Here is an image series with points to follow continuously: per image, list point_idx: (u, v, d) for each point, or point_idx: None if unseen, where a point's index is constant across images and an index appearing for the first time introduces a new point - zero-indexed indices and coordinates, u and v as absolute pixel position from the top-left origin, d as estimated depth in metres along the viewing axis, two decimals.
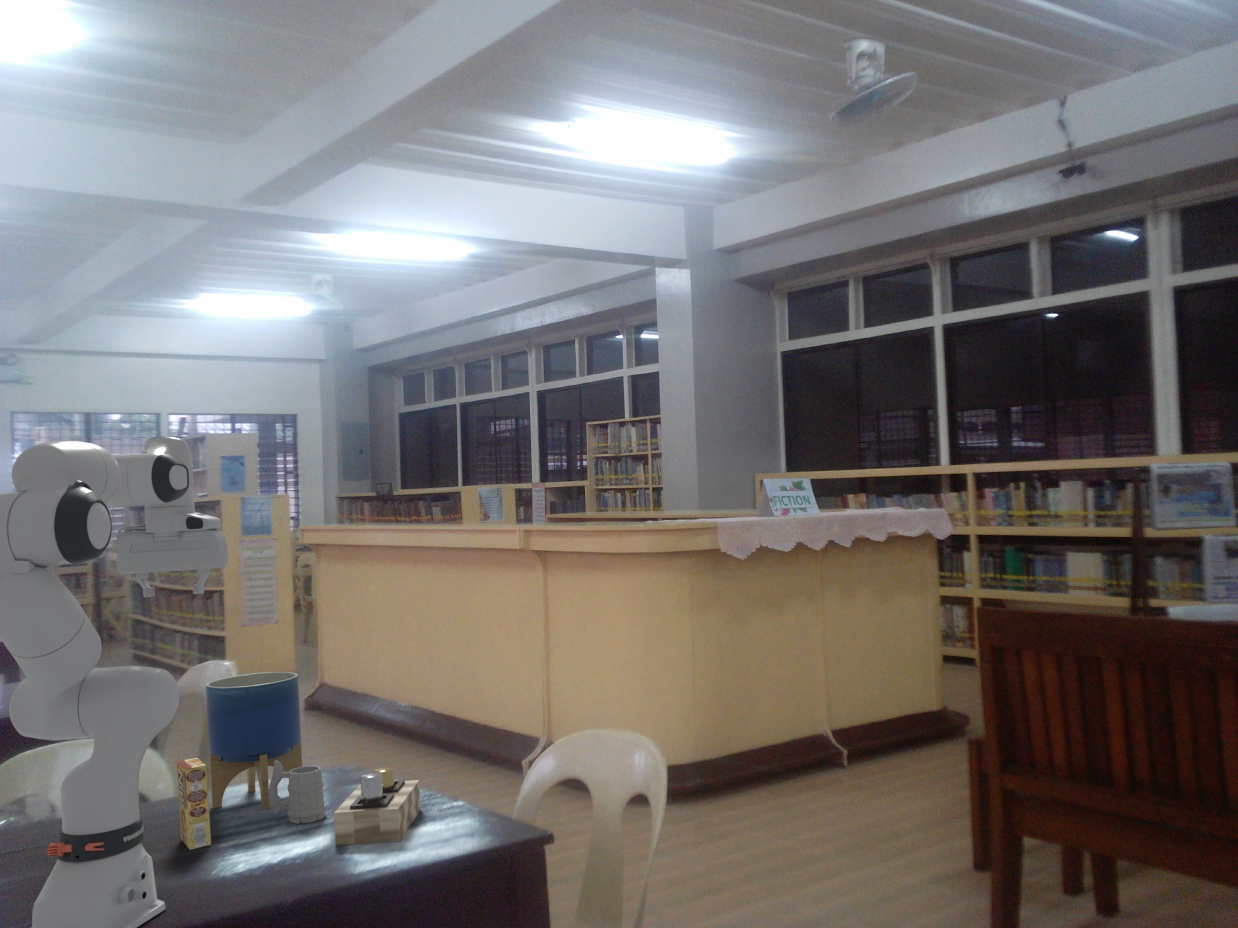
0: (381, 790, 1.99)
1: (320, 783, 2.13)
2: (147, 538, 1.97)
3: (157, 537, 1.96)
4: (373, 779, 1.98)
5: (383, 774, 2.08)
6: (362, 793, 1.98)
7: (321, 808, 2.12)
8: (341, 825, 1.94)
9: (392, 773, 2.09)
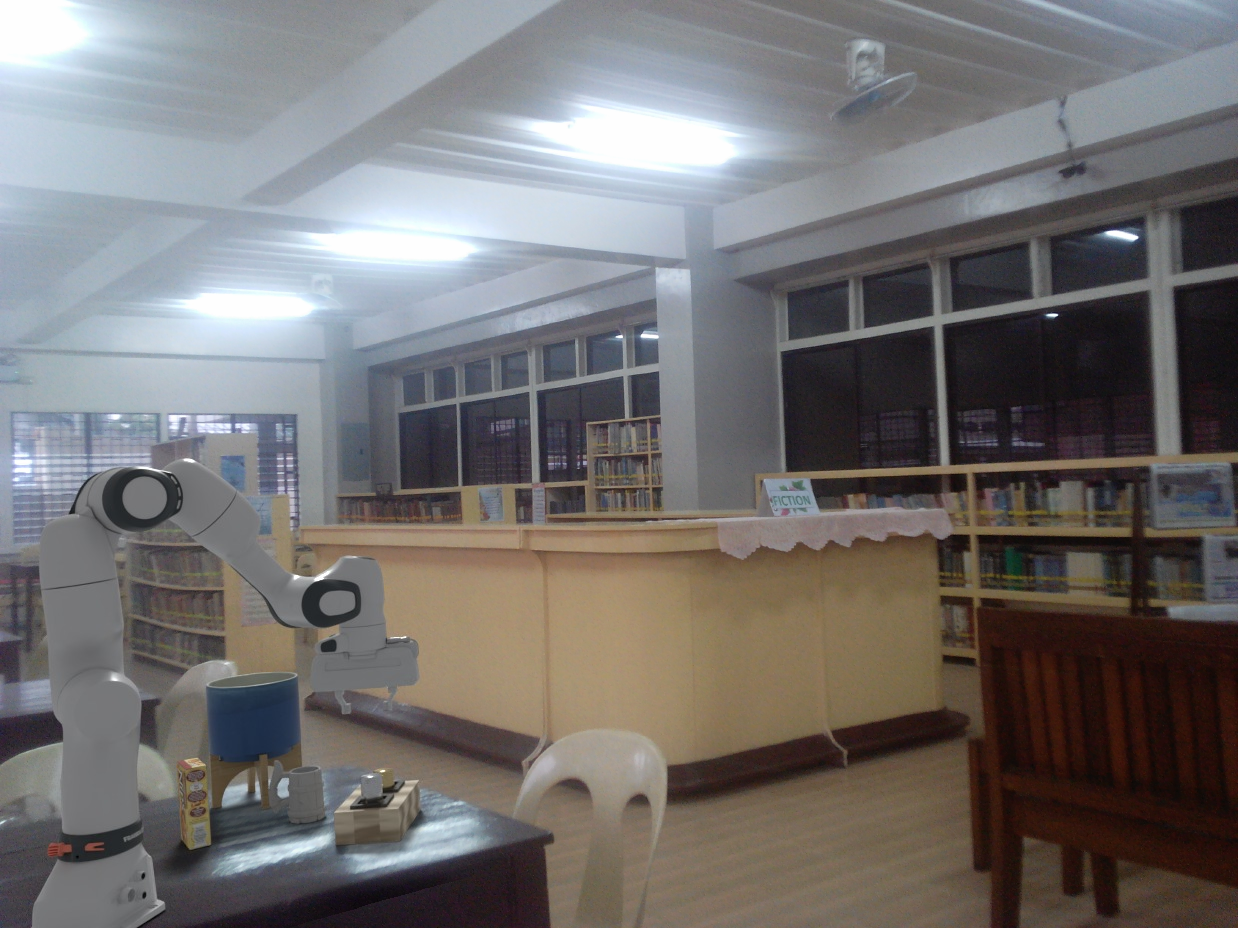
0: (381, 790, 1.99)
1: (320, 783, 2.13)
2: None
3: None
4: (373, 779, 1.98)
5: (383, 774, 2.08)
6: (362, 793, 1.98)
7: (321, 808, 2.12)
8: (341, 825, 1.94)
9: (392, 773, 2.09)
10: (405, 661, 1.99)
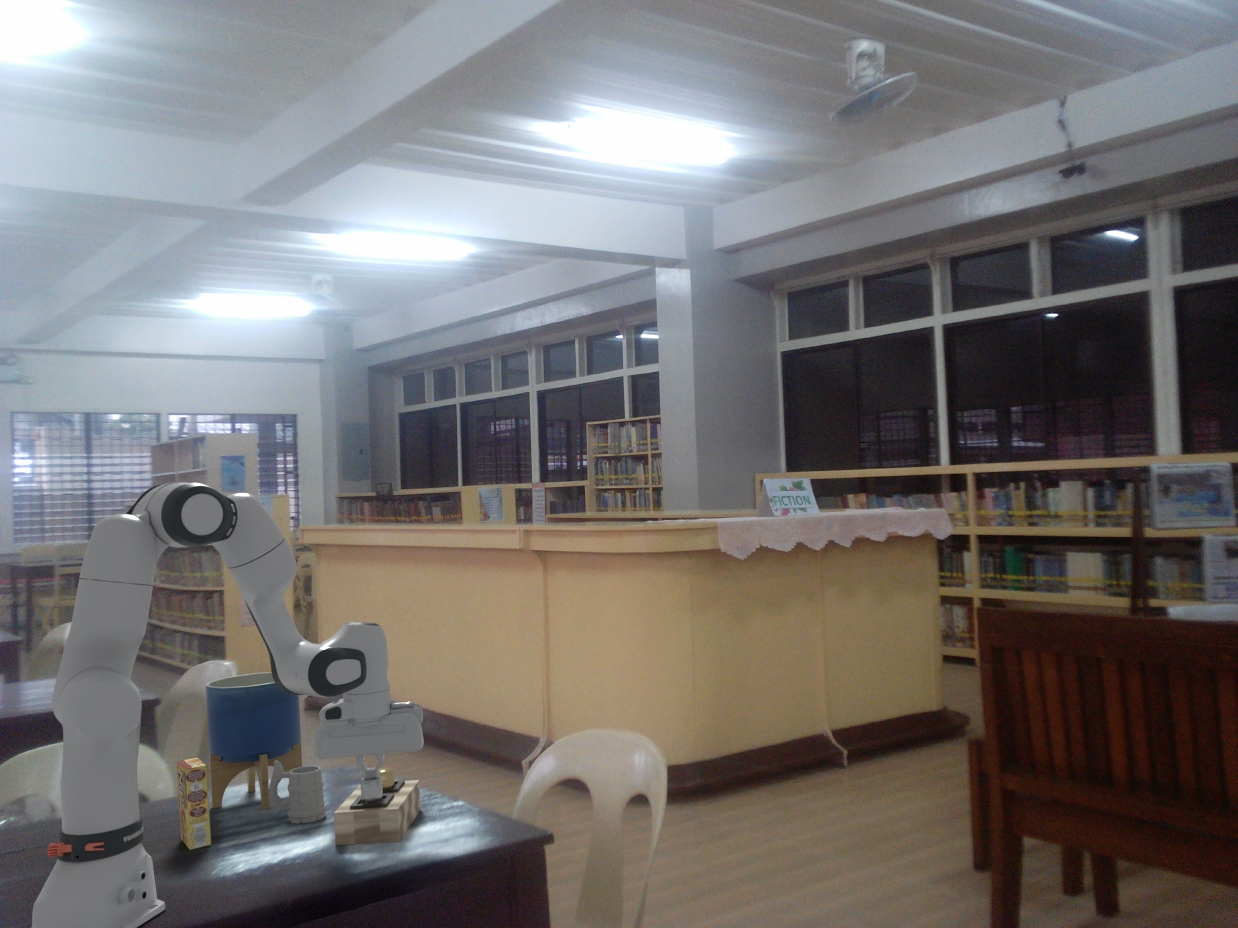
0: (381, 792, 1.99)
1: (320, 783, 2.13)
2: None
3: None
4: (373, 782, 1.98)
5: (383, 774, 2.08)
6: (362, 795, 1.98)
7: (321, 808, 2.12)
8: (341, 825, 1.94)
9: (392, 773, 2.09)
10: (410, 727, 1.99)
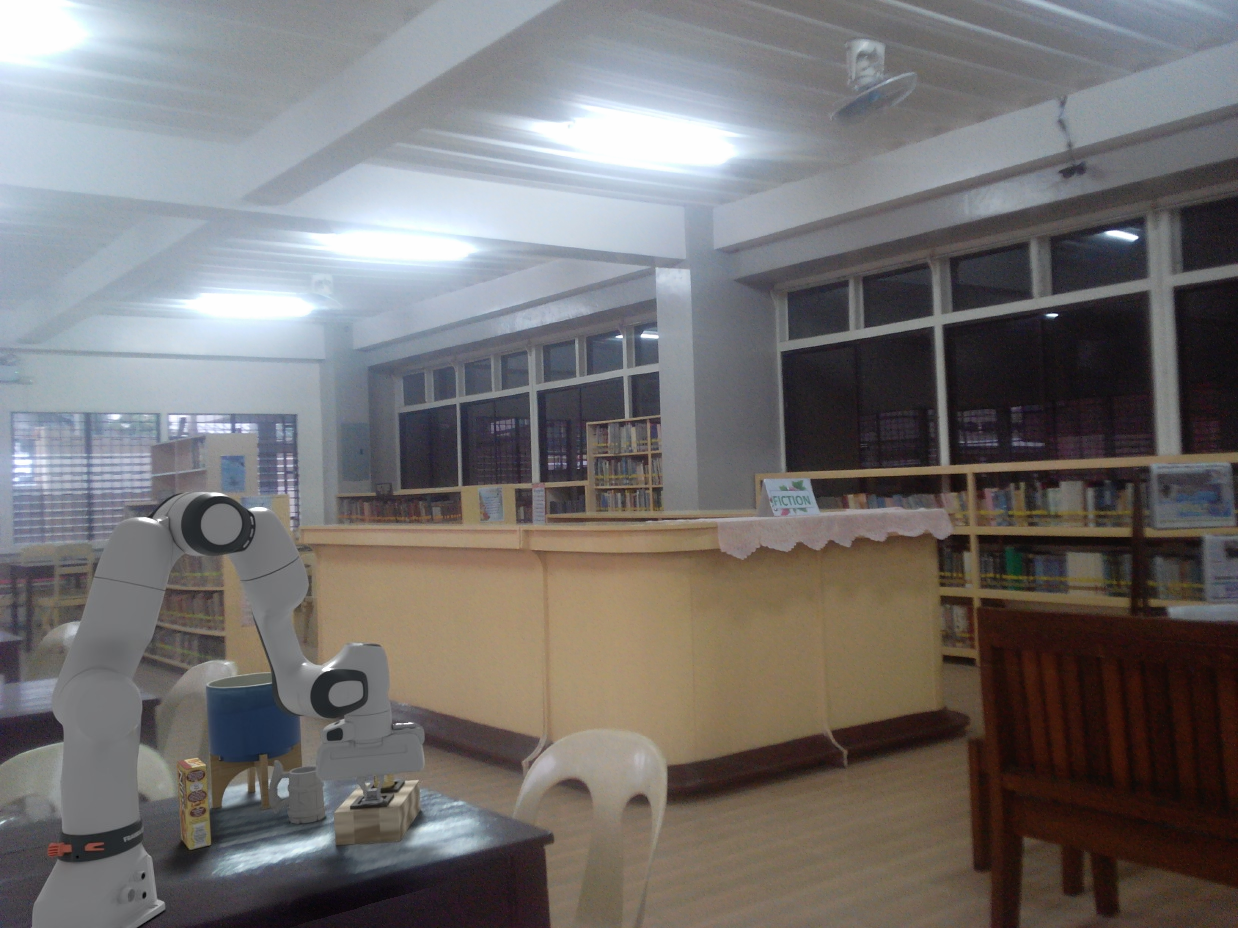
0: None
1: (320, 783, 2.13)
2: None
3: None
4: (374, 802, 1.98)
5: None
6: None
7: (321, 808, 2.12)
8: (341, 825, 1.94)
9: None
10: (412, 747, 1.99)
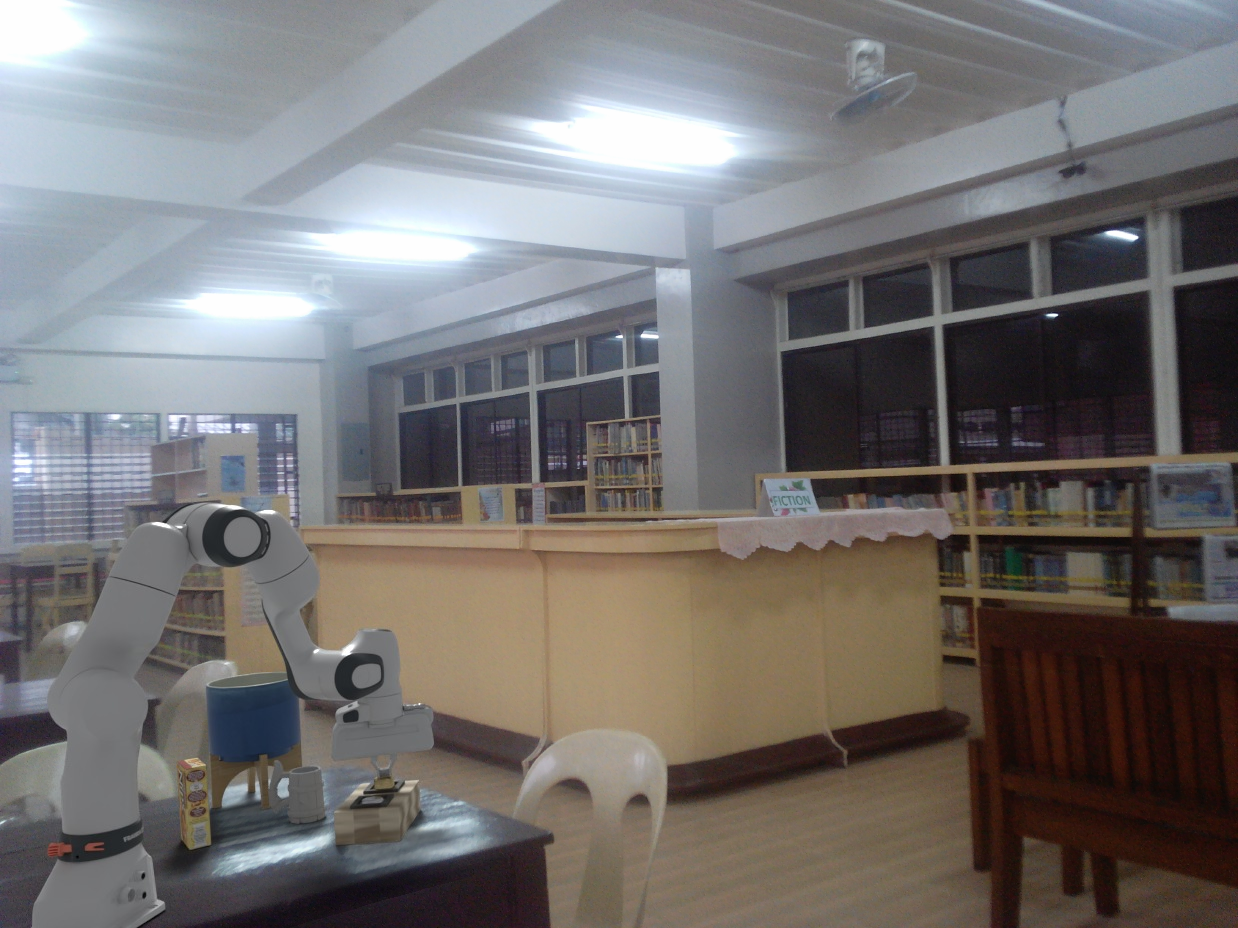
0: None
1: (320, 783, 2.13)
2: None
3: None
4: None
5: (383, 781, 2.08)
6: None
7: (321, 808, 2.12)
8: (341, 825, 1.94)
9: (392, 780, 2.09)
10: (423, 727, 2.10)
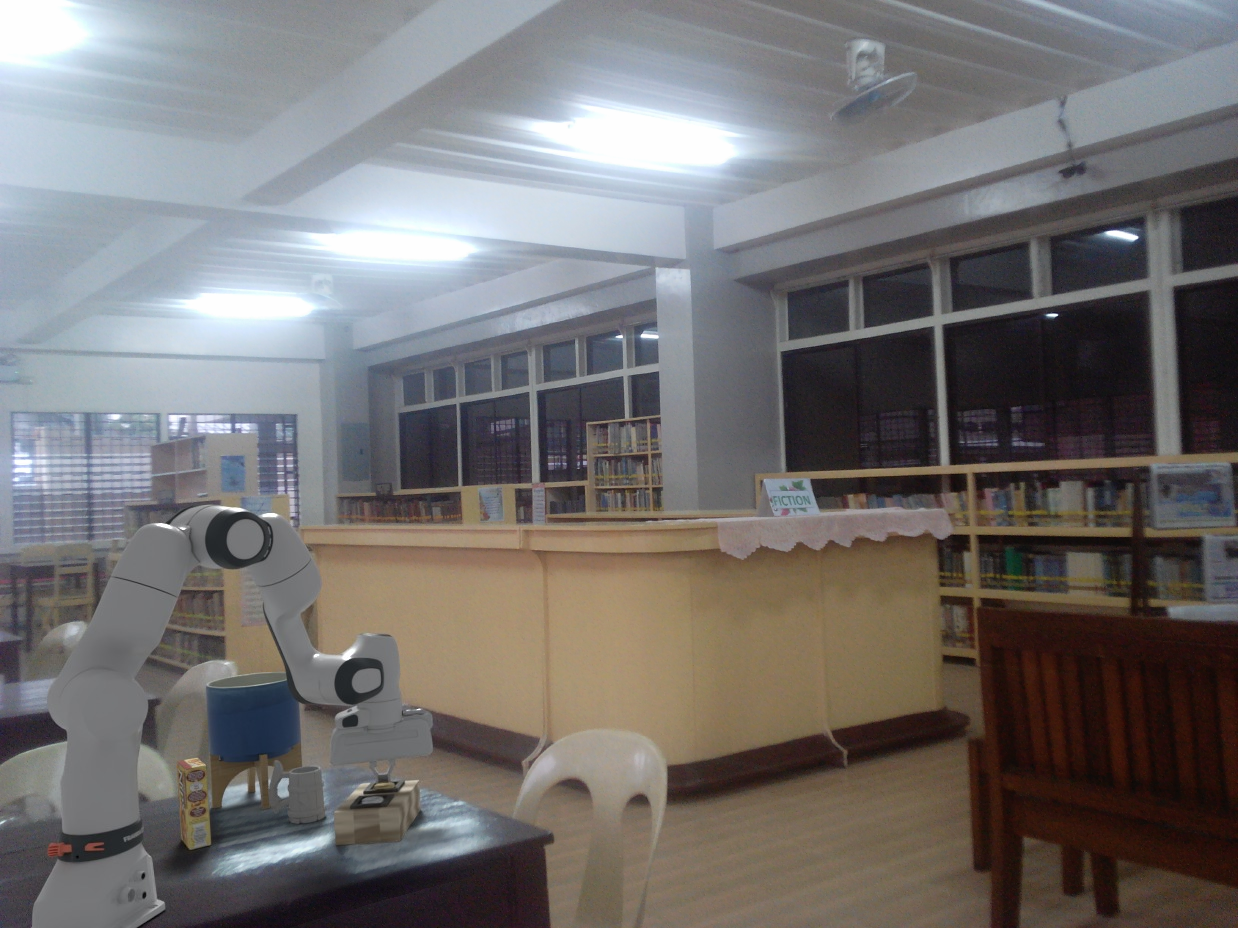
0: None
1: (320, 783, 2.13)
2: None
3: None
4: None
5: None
6: None
7: (321, 808, 2.12)
8: (341, 825, 1.94)
9: None
10: (422, 732, 2.10)
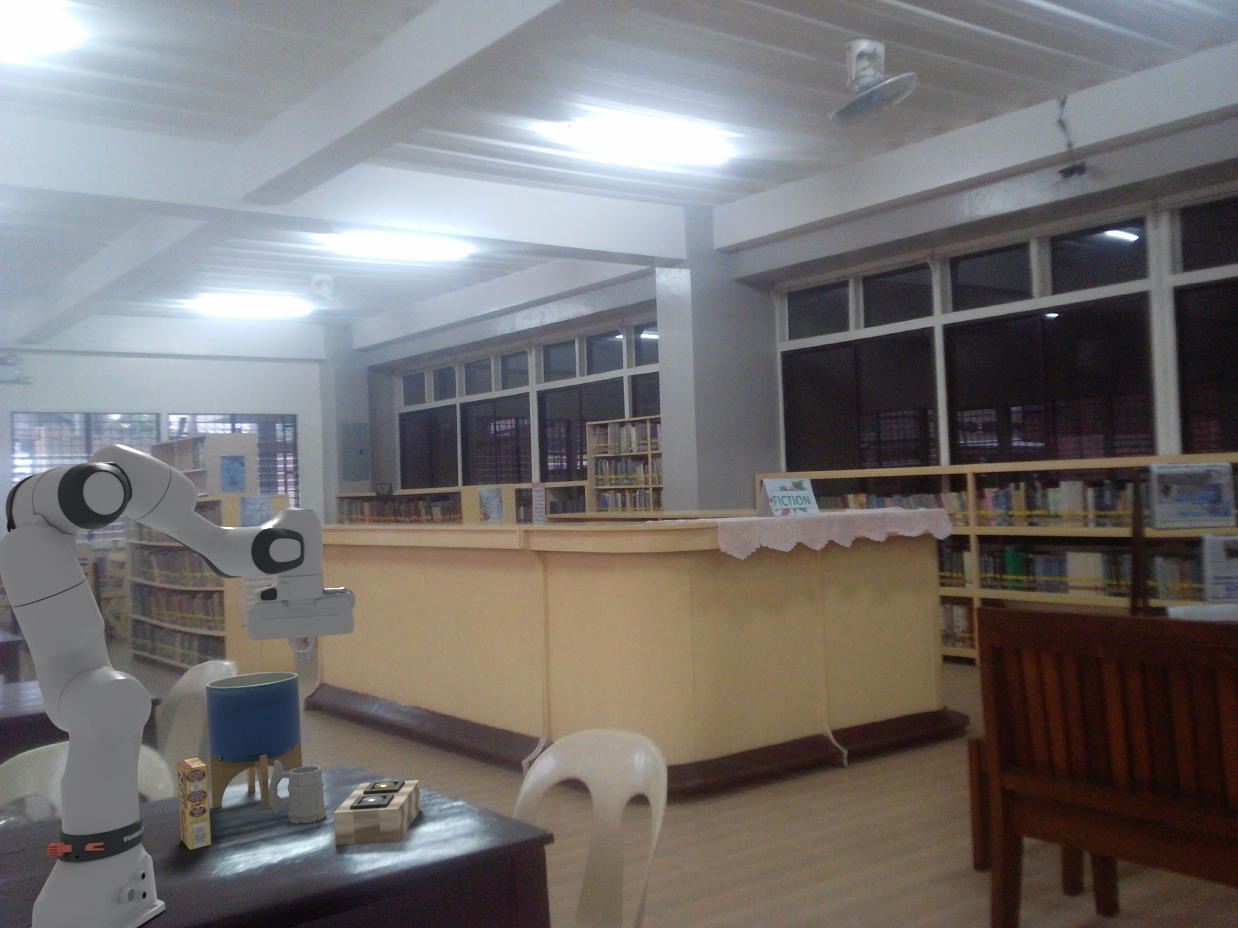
0: None
1: (320, 783, 2.13)
2: None
3: None
4: None
5: None
6: None
7: (321, 808, 2.12)
8: (341, 825, 1.94)
9: None
10: (343, 610, 2.07)
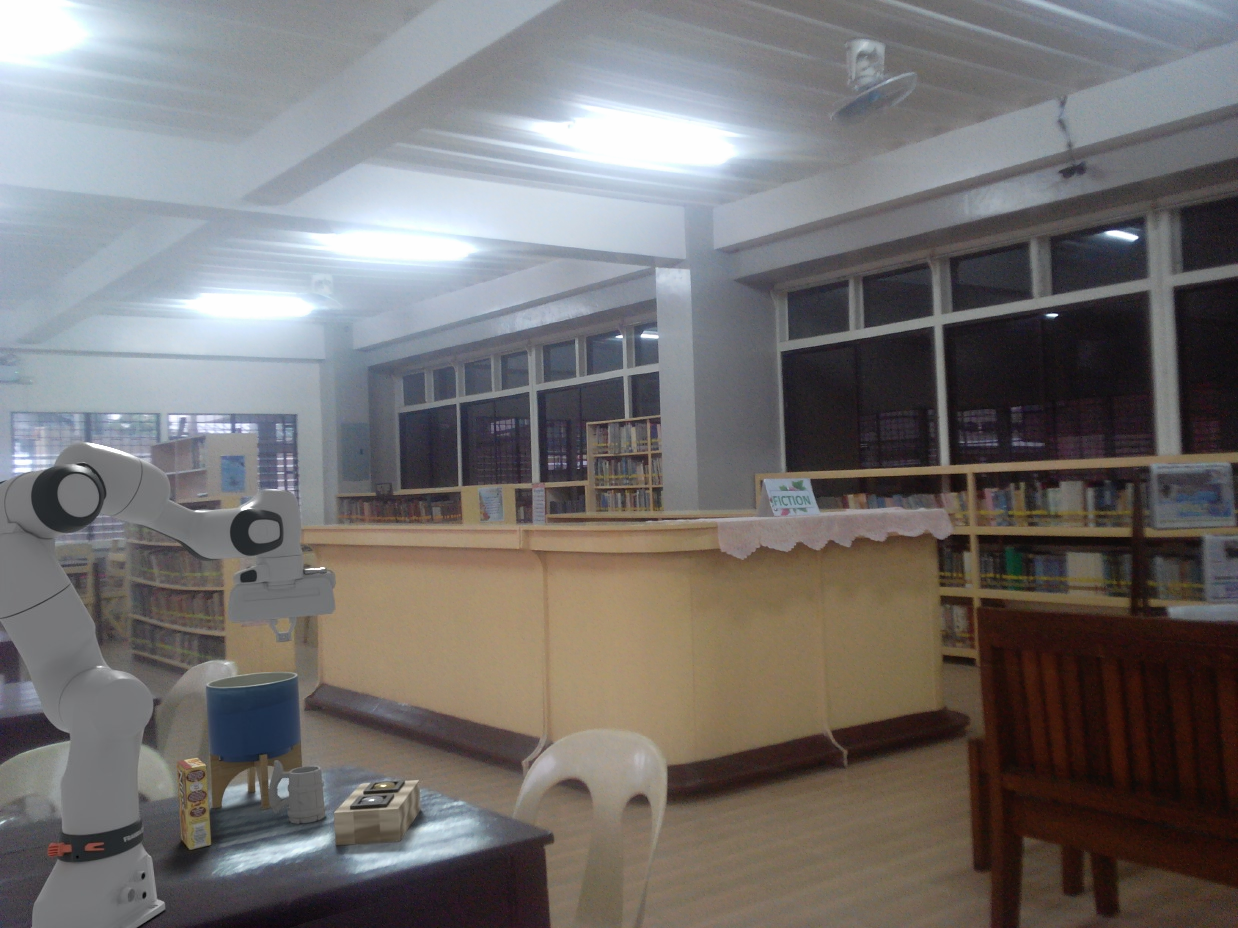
0: None
1: (320, 783, 2.13)
2: None
3: None
4: None
5: None
6: None
7: (321, 808, 2.12)
8: (341, 825, 1.94)
9: None
10: (324, 590, 2.07)
